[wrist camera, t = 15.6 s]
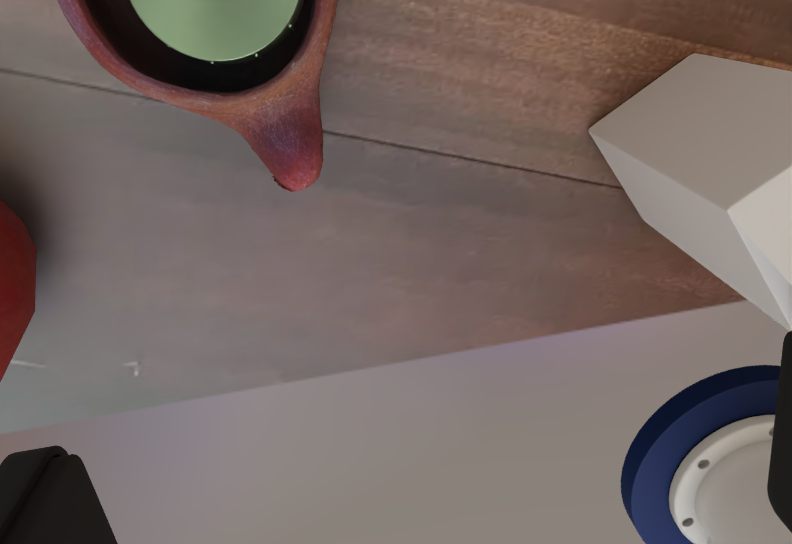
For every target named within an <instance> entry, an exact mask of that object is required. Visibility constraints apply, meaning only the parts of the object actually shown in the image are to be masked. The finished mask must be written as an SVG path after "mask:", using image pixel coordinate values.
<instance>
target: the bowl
mask: <svg viewBox="0 0 792 544" xmlns="http://www.w3.org/2000/svg"><path fill="white" fill-rule="evenodd" d="M337 2H338V0H304V2H303V6H302V9H301V12H300V14H299V17H298V19H297V21H296V23H295V25H294V26H293V28H294V30H293V31H292V30H291V31H290V32H289V34H288V35H287V36H286V38H285V39H284V40H283V41H282V42H281V43H280V44H279V45H277V46H276V47H275V48H273V49H272V50H271V51H269V52H268V53H266V54H264V55H262V58H261V59H259V58H256V59H253V60H250V61H246V62H242V63H234V64H220V65H214V64H211V62H208V61H204V60H200V59H197V58H194V57H191V56H187V55H185V54H183V53H181V52H179V51H176V50H175V49H173V48H170V47H168V46H167V44H165V43H164V42H163V41H161V40H160V39H159V38H158V37H156V36H155V35H154V34H153V33H152V32H151V31H150V30H149V28H148V27H147V26H146V25H145V24H144V22H143V21H142V20H141V18H140V17H139V16H138V14H137V12H136V11H135V9H134V7H133V5H132V3H131V1H130V0H58V3H59V5H60V7H61V9H62V11H63V14H64V16H65V17H66V19H67V20H68V22H69V23H70V25H71V27H72V28H73V30H74V31H75V33H76V35H77V36H78V37H79V39H80V40H81V42H82V43H83V45H84V46H85V47H86V49H87V50H88V51H89V53H90V54H91V55H92V56H93V58H94V59H95V60H96V61H97V62H98V63H99V64H100V65H101V66H102V67H103V68H104V69H106V70H107V71H108V72H109V73H111V74H112V75H113V76H115V77H116V78H118V79H119V80H121V81H122V82H123V83H125V84H126V85H128V86H129V87H131V88H133V89H135V90H137V91H139V92H141V93H143V94H145V95H147V96H150V97H152V98H155V99H158V100H161V101H164V102H167V103H169V104H171V105H174V106H176V107H179V108H182V109H185V110H188V111H191V112H194V113H197V114H200V115H203V116H205V117H208V118H211V119H213V120H216V121H219V122H221V123H223V124H225V125H227V126H229V127H231V128H232V129H234V130H235V131H237V132H238V133H240V134H241V135H242V136H243V137H244V138H245V139H246V141H247V142H248V143H249V144H250V145H251V148H252V149H253V151H254V152H255V153H256V154H257V155H258V156H259V158H260V159H261V160H262V162H263V163H264V164H265V165H266V167H267V168H268V169H269V170H270V172H271V173H272V174H273V175H274V176H273V177H274V178H275V179H274V181H276V182H277V183H278V185H279V186H281V187H282V188H283V189H285V190H288V191H291V192H292V191H300V190H303V189H305V188H306V187H308V186H310V185H311V184H313V183H314V182H315V181H316V180H317V178H318V177H319V175H320V171H321V167H322V163H323V131H322V123H321V114H320V99H319V83H320V74H321V70H322V66H323V62H324V57H325V52H326V49H327V46H328V42H329V39H330V35H331V32H332V27H333V22H334V19H335V15H336V6H337ZM272 179H273V178H272Z"/></svg>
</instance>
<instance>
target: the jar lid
mask: <svg viewBox="0 0 792 544" xmlns="http://www.w3.org/2000/svg"><path fill="white" fill-rule="evenodd" d="M130 1H131V3H132V5H133V7H134V9H135V11H136V12H137V14H138V16H139V17H140V18H141V20H142V21H143V22H144V24H145V25H146V26H147V27H148V28H149V30H150V31H151V32H152V33H153V34H154V35H155V36H156V37H158V38H159V39H160V40H161V41H163V42H164V43H165V44H167V46H168V47H170V48H173V49H175V50H176V51H179V52H181V53H183V54H185V55H187V56H191V57H194V58H197V59H200V60H204V61H208V62H211V64H214V65H220V64H234V63H242V62H246V61H250V60H253V59H256V58H259V59H261V58H262V55H264V54H266V53H268V52H269V51H271V50H272V49H273V48H275V47H276V46H277V45H279V44H280V43H281V42H282V41H283V40H284V39H285V38H286V36H287V35H288V34H289V32H290V31H291V30H292V31H293V30H294V28H293V26H294V25H295V23H296V21H297V19H298V17H299V14H300V12H301V9H302V6H303V2H304V0H130Z"/></svg>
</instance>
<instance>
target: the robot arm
mask: <svg viewBox="0 0 792 544" xmlns="http://www.w3.org/2000/svg"><path fill="white" fill-rule="evenodd" d="M669 506H670V511H671V514H672V516H673V519H674V521H675V523H676V524H677V526H678V527H679V529H680V530H681V532H682V533H683V534H684V535H685V536H686V537H687V538H688V539H689V540H690V541H691V542H693V543H694V544H792V331H790V332H788V333H787V334H786V336H785V338H784V342H783V351H782V360H781V368H780V377H779V386H778V395H777V403H776V412H775V415H762V416H755V417H750V418H746V419H743V420H740V421H736V422H733V423H731V424H729V425H727V426H725V427H723V428H721V429H719V430H717V431H715V432H714V433H712V434H711V435H709V436H708V437H706V438H705V439H704V440H702V441H701V442H700V443H699V444H698V445H697V446H696V447H694V448H693V449H692V450H691V452H690V453H689V454H688V455H687V456H686V457H685V459H684V460H683V461H682V463H681V464H680V466H679V468H678V469H677V471H676V473H675V475H674V478H673V480H672V483H671V486H670V493H669ZM0 544H118V543H117V541H116V539H115V536H114V534H113V532H112V529H111V527H110V525H109V522H108V520H107V518H106V515H105V513H104V511H103V508H102V506H101V504H100V501H99V499H98V496H97V494H96V492H95V489H94V487H93V485H92V482H91V480H90V478H89V475H88V473H87V471H86V468H85V466H84V464H83V462H82V460H81V458H80V457H79V456H77V455H74V454H71V455H68V453H67V452H66V450H64V449H63V448H62V447H60V446H51V447H45V448H39V449H34V450H28V451H22V452H16V453H13V454H10V455H8V456H7V457H6V458H5V459H4V460H3V462H2V463H1V465H0Z"/></svg>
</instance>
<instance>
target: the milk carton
mask: <svg viewBox="0 0 792 544" xmlns="http://www.w3.org/2000/svg"><path fill="white" fill-rule="evenodd" d="M588 131H589V133H590V135H591V137H592V138H593V140H594V141H595V143H596V145H597V146H598V148H599V150H600V151H601V153H602V154H603V156H604V158H605V159H606V161H607V163H608V164H609V166H610V167H611V169H612V171H613V172H614V174H615V175H616V177H617V179H618V180H619V182H620V184H621V185H622V187H623V188H624V190H625V192H626V193H627V195H628V196H629V198H630V200H631V201H632V203H633V205H634V206H635V208H636V209H637V211H638V213H639V214H640V216H641V217H642V219H643V220H644V221H645V222H646V223H647V224H649V225H650V226H651V227H653V228H654V229H655V230H657V231H658V232H659V233H661V234H662V235H663V236H665V237H666V238H667V239H668V240H670V241H671V242H672V243H674V244H675V245H676V246H678V247H679V248H680V249H682V250H683V251H684V252H686V253H687V254H688V255H690V256H691V257H692V258H693V259H695V260H696V261H697V262H699V263H700V264H701V265H703V266H704V267H705V268H707V269H708V270H709V271H711V272H712V273H713V274H714V275H716V276H717V277H718V278H720V279H721V280H722V281H724V282H725V283H726V284H728V285H729V286H730V287H732V288H733V289H734V290H735V291H737V292H738V293H739V294H741V295H742V296H743V297H745V298H746V299H747V300H749V301H750V302H751V303H753V304H754V305H755V306H757V307H758V308H759V309H761V310H762V311H763V312H764V313H766V314H767V315H768V316H770V317H771V318H772V319H774V320H775V321H776V322H778V323H779V324H780V325H782V326H783V327H784V328H786V329H787V330H789V331H792V71H787V70H782V69H777V68H771V67H766V66H761V65H756V64H750V63H745V62H740V61H735V60H729V59H724V58H719V57H714V56H708V55H703V54H697V53H694V54H691V55H690V56H688V57H687V58H685V59H684V60H682V61H681V62H680V63H678V64H677V65H675V66H674V67H673V68H671V69H670V70H668V71H667V72H666V73H664V74H663V75H662V76H660V77H659V78H657V79H656V80H655V81H653V82H652V83H651V84H649V85H648V86H646V87H645V88H644V89H642V90H641V91H639V92H638V93H637V94H635V95H634V96H633V97H631V98H630V99H628V100H627V101H626V102H624V103H623V104H622V105H620V106H619V107H617V108H616V109H615V110H613V111H612V112H611V113H609V114H608V115H606V116H605V117H604V118H602V119H601V120H600V121H598V122H597V123H595V124H594V125H593V126H592V127H590V128H589V130H588Z"/></svg>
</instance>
